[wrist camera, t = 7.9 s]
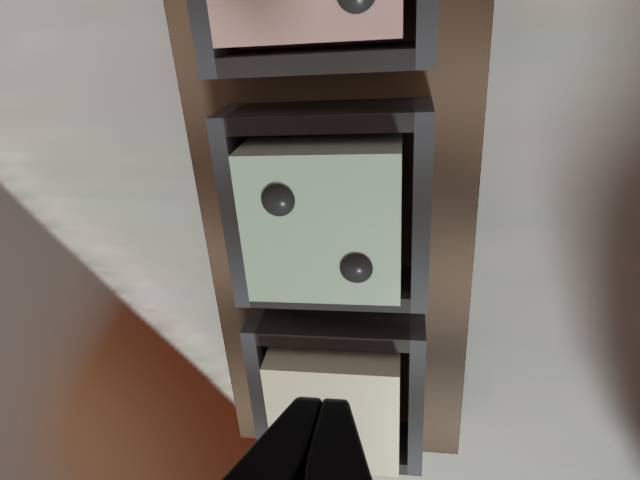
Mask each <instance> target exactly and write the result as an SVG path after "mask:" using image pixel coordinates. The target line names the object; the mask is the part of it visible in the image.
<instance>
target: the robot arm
mask: <svg viewBox="0 0 640 480" xmlns="http://www.w3.org/2000/svg"><path fill="white" fill-rule="evenodd" d="M222 480H372V477H371V473H370V470H369V467H368V464H367V460H366V457H365V454H364V450H363V447H362V444H361V441H360V437H359V434H358V431H357V427H356V424H355V421H354V418H353V414H352V411H351V408H350V405H349V402H348V401H347V400H345V399H330V398H326V399H324V400H323V401H322V400H321V399H320V398H315V397H297V398H296V399H295V400H294V401H293V402H292V403H291V404H290V405H289V406H288V407H287V408H286V409H285V410H284V411H283V413H282V414H281V415H280V416H279V417H278V418H277V419H276V420H275V421H274V422H273V424H272V425H271V426H270V427H269V428H268V429H267V430H266V431H265V432H264V433H263V435H262V436H261V437H260V438H259V439H258V440H257V441H256V442H255V443H254V445H253V446H252V447H251V448H250V449H249V450H248V451H247V452H246V453H245V454H244V456H243V457H242V458H241V459H240V460H239V461H238V462H237V463H236V464H235V465H234V466H233V468H232V469H231V470H230V471H229V472H228V473H227V474H226V475H225V476H224V477H223V478H222Z"/></svg>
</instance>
